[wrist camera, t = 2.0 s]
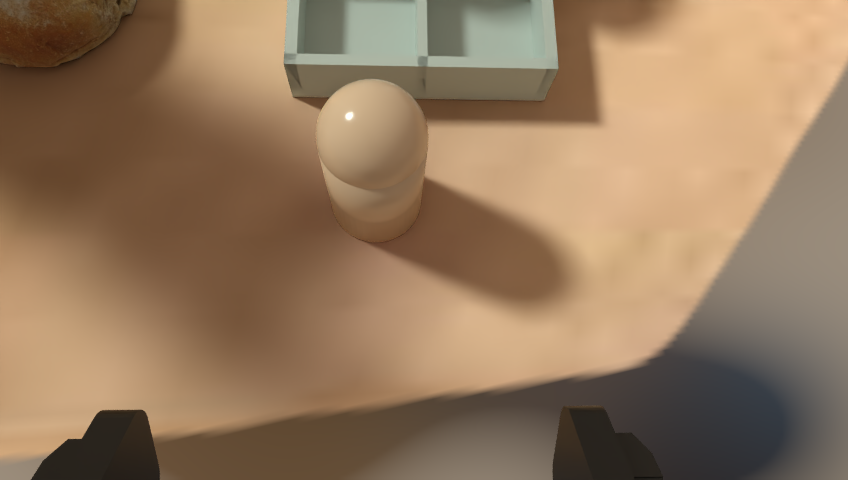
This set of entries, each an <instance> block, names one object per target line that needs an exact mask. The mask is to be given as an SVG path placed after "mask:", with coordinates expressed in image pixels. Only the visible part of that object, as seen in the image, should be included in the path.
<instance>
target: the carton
mask: <svg viewBox="0 0 848 480" xmlns="http://www.w3.org/2000/svg"><path fill="white" fill-rule="evenodd" d="M284 67H285V70H286V74H287V77H288V81H289V84H290V88H291V92H292V95H293V97H331V96H332V95H333V94H334V93H335V92H336V91H338V90H339V89H340V88H342V87H343V86H345V85H347V84H349V83H352V82H355V81H358V80H364V79H379V80H384V81H388V82H391V83H393V84H395V85H398V86H399V87H401V88H402V89H404V90H405V91H407V92H408V93H409V94H410V95H411V96H412V97H413V98H414V99H461V100H526V101H544V100H545V97H546V95H547V93H548V91H549V89H550V87H551V84H552V82H553V80H554V78H555V76H556V74H557V71H558V69H559V67H558V55H557V44H556V32H555V20H554V8H553V0H287V17H286V34H285V51H284Z"/></svg>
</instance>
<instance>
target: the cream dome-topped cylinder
mask: <svg viewBox="0 0 848 480" xmlns="http://www.w3.org/2000/svg"><path fill="white" fill-rule="evenodd" d="M428 138H429V137H428V126H427V122H426V119H425V116H424V113H423V111H422V109H421V107H420V106H419V104H418V103H417V102H416V100H415V99H414V98H413V97H412V96H411V95H410V94H409V93H408V92H407V91H405V90H404V89H402V88H401V87H399V86H398V85H395V84H393V83H391V82H388V81H384V80H379V79H364V80H358V81H355V82H352V83H349V84H347V85H345V86H343V87H342V88H340V89H339V90H338V91H336V92H335V93H334V94H333V95H332V96H331V97H330V98H329V99H328V100H327V102H326V103H325V105H324V106H323V108H322V110H321V112H320V114H319V117H318V121H317V125H316V146H317V151H318V155H319V158H320V162H321V166H322V170H323V174H324V178H325V182H326V186H327V190H328V193H329V197H330V201H331V205H332V209H333V212H334V215H335V218H336V220H337V221H338V223H339V224H340V226H341V227H342V228H343V229H344V230H345V231H346V232H347V233H349V234H350V235H352V236H353V237H355V238H357V239H360V240H363V241H367V242H385V241H389V240H392V239H395V238H397V237H399V236H401V235H402V234H404V233H405V232H406V231H407V230H408V229H409V228H410V227H411V226H412V225H413V224H414V222H415V220H416V219H417V217H418V214H419V211H420V206H421V198H422V190H423V182H424V174H425V166H426V157H427V149H428Z"/></svg>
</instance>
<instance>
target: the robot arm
mask: <svg viewBox="0 0 848 480" xmlns="http://www.w3.org/2000/svg"><path fill="white" fill-rule="evenodd" d="M31 480H160V471H159V464H158V460H157V455H156V451H155V447H154V443H153V438H152V434H151V430H150V425H149V421H148V417H147V414H146V413H145V411H143V410H102V411H100V412H98V414H97V415H96V416H95V417H94V419H93V421H92V423H91V424H90V426H89V428H88V429H87V431H86V433H85V434H84V436H83V438H82V439H68V440H67V441H65V442H64V443H63V444H62V445H61V446H60V447H58V448H57V449H56V450H55V451H54V452H53V453H51V454H50V455H49V456H48V457H47V458H46V459H45V460H43V462H42V463H41V465H40V467H39V468H38V470H37V471H36V473H35V474H34V476H33V477H32V479H31ZM553 480H663V476H662V474H661V471H660V469H659V468H658V465H657V463H656V461H655V459H654V457H653V455H652V453H651V452H650V451H649V450H648V449H647V448H646V447H645V446H644V445H643V444H642V443H641V442H640V441H639V440H638V439H637V438H636V437H635V436H634V435H633V434H632V433H615V431H614V429H613V427H612V424H611V422H610V420H609V417H608V415H607V412H606V411H605V409H604V407H603V406H564V407H563V408H562V411H561V416H560V422H559V428H558V434H557V440H556V447H555V453H554V459H553Z"/></svg>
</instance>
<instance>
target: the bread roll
mask: <svg viewBox="0 0 848 480" xmlns="http://www.w3.org/2000/svg"><path fill="white" fill-rule="evenodd" d="M136 2H137V0H0V63H4V64H11V65H15V66H16V67H21V66H24V67H55V66H58V65H59V64H60V63H63V62H68V61H70V60H74V59H78V58H80V57H81V56H82V55H83V54H85V53H86V52H88V51H89V50H91V49H93V48H95V47H96V46H98V45H99V44H101V43H102V42H104V41H105V40H106V39H107V38H108V37H110V36H111V35H112V34H113V33H114V32H115V30H116V29H117V27H118V25H119V23H120V20H121V17H123V16H125V15H127V14H132V12H133V10H134V7H135V4H136Z"/></svg>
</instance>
